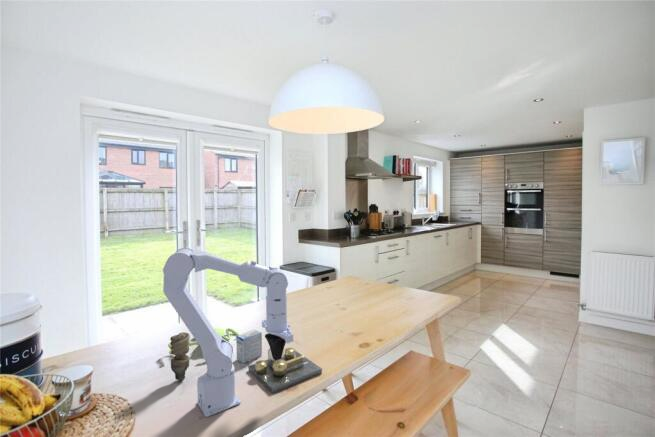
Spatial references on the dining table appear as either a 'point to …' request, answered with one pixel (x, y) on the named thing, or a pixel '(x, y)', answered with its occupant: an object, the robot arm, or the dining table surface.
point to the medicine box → (249, 345)
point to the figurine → (218, 331)
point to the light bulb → (180, 354)
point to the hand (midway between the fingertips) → (277, 358)
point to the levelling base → (293, 375)
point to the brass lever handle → (286, 365)
